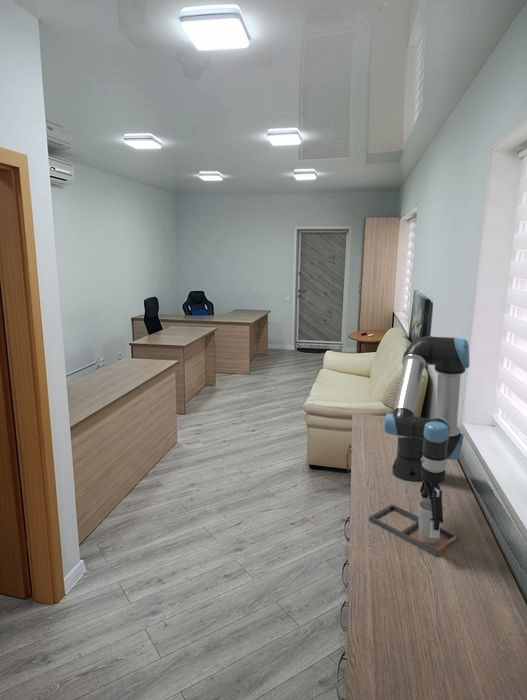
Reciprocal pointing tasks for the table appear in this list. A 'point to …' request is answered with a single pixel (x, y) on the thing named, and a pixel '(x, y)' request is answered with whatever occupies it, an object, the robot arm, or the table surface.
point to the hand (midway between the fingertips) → (429, 525)
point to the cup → (425, 521)
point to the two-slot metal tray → (414, 537)
